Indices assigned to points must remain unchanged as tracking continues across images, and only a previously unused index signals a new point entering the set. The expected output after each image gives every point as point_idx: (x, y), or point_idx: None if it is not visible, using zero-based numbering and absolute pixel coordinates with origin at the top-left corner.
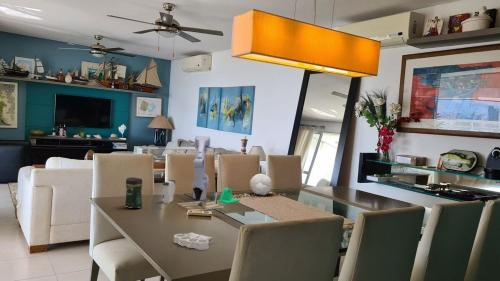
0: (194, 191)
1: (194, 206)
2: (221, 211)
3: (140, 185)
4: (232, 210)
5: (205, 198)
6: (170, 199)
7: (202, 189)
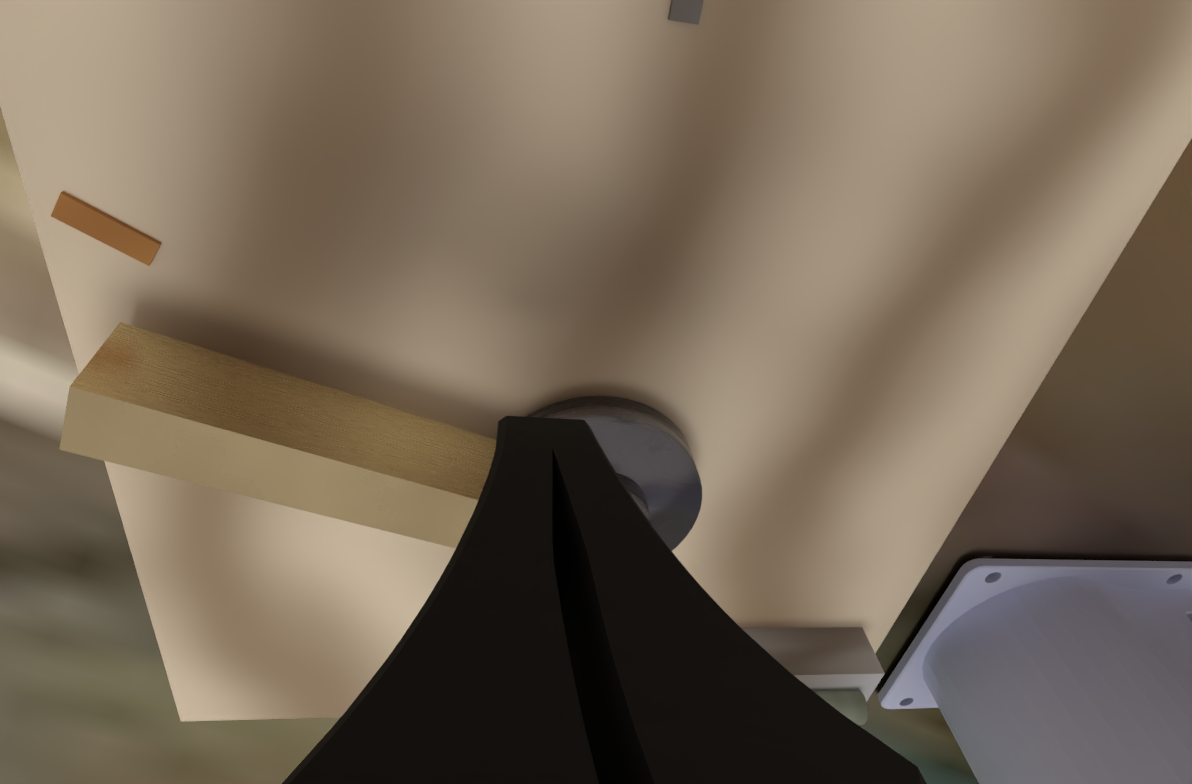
0: (687, 682)
1: (569, 251)
2: (41, 591)
3: None
4: (80, 742)
5: None
6: None
7: None
